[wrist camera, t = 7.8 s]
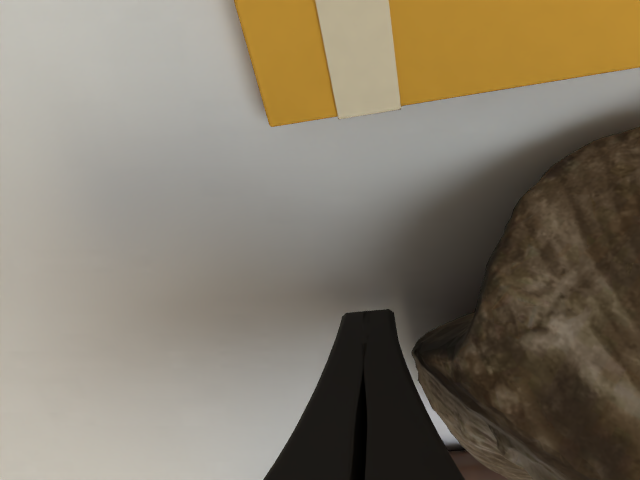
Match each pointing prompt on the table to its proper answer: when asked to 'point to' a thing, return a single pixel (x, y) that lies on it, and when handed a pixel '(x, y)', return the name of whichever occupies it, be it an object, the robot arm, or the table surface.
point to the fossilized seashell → (553, 330)
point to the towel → (424, 50)
